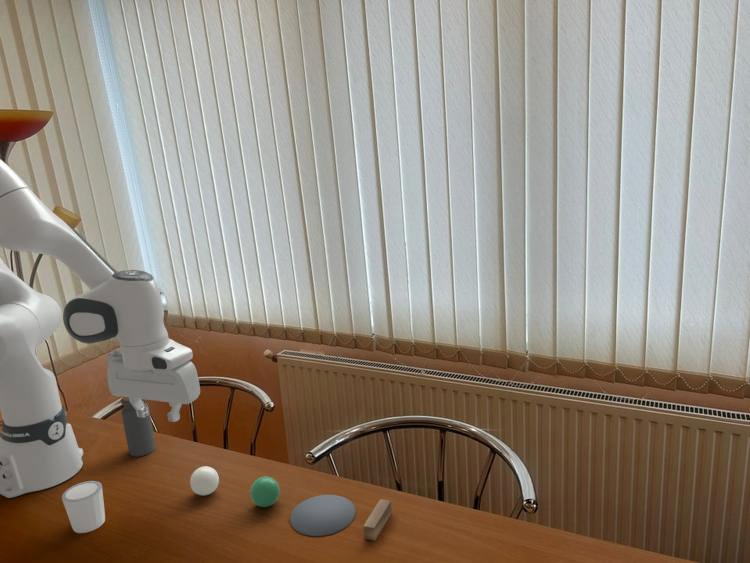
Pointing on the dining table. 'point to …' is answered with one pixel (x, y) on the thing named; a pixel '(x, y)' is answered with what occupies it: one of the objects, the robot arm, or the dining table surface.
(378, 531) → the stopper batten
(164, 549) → the dining table surface
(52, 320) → the robot arm
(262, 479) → the green ball
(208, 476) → the cue ball
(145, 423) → the bottle
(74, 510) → the shot glass
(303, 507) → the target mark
